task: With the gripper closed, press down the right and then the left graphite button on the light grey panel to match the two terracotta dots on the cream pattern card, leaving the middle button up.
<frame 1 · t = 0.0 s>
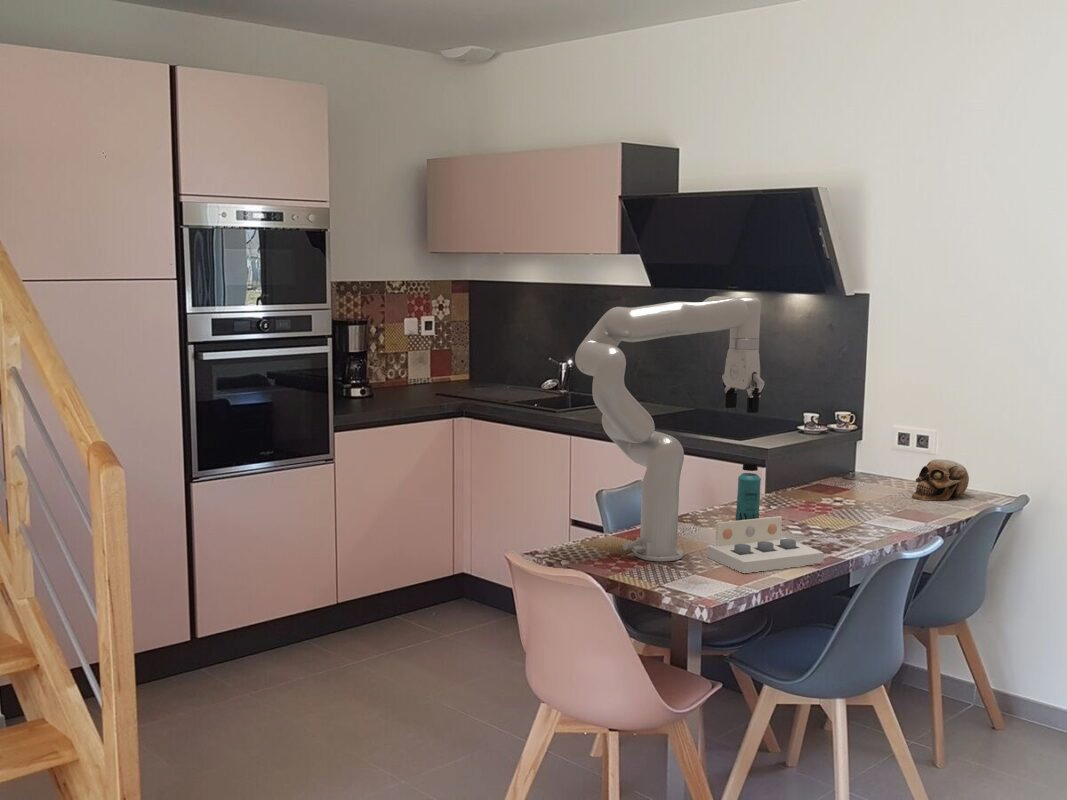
hand: (741, 410, 281), 37 cm above the table, tool pointing down, fingers open, 9 cm apart
button right: (787, 546, 275), point 3 cm above the table, slide at 0.0 cm
button left: (742, 551, 270), point 3 cm above the table, slide at 0.0 cm
beverage bottle: (746, 532, 302), on the table
button panel: (764, 560, 273), on the table
button middle: (765, 549, 272), point 3 cm above the table, slide at 0.0 cm
brown skull: (938, 497, 352), on the table
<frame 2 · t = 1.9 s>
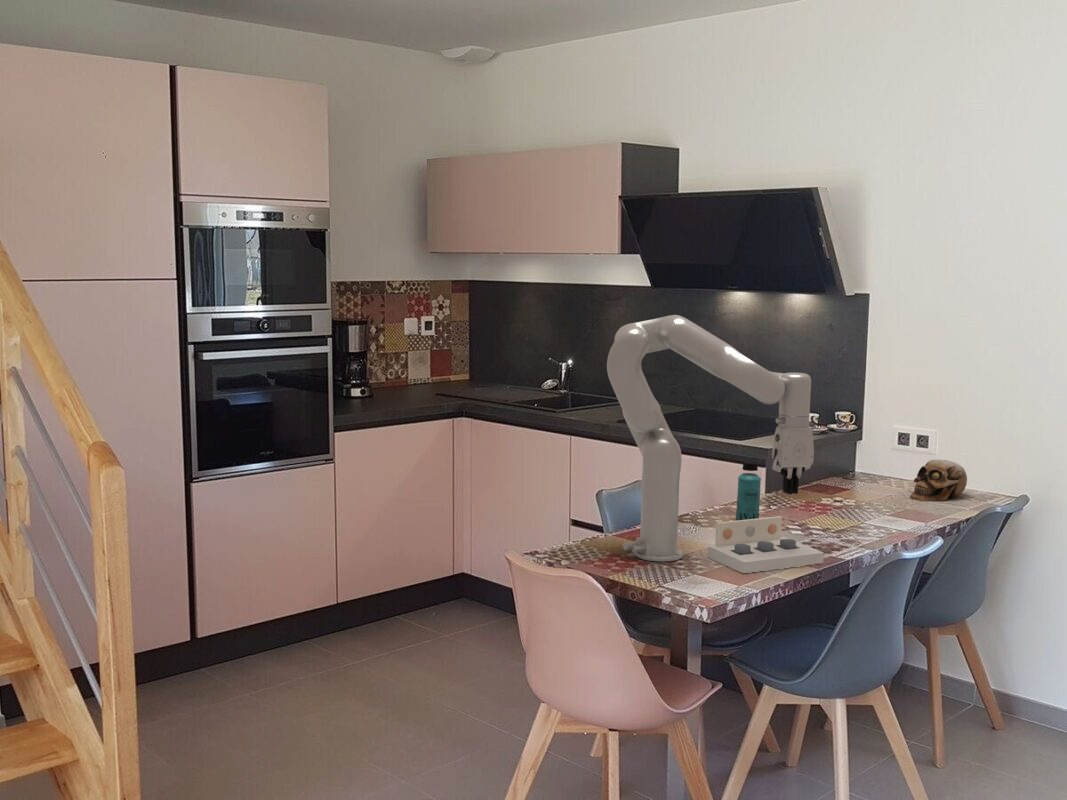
hand: (790, 492, 273), 17 cm above the table, tool pointing down, fingers closed
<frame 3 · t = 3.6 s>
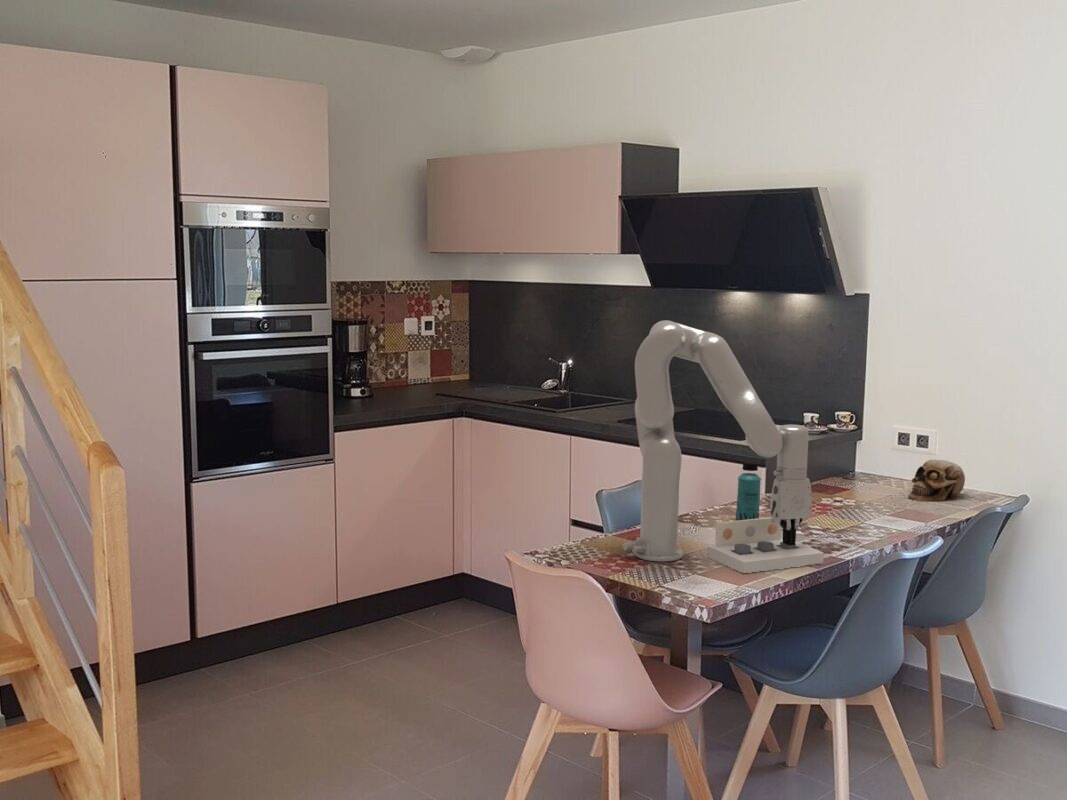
hand: (788, 543, 275), 4 cm above the table, tool pointing down, fingers closed
button right: (787, 549, 275), point 2 cm above the table, slide at 0.8 cm, touching gripper
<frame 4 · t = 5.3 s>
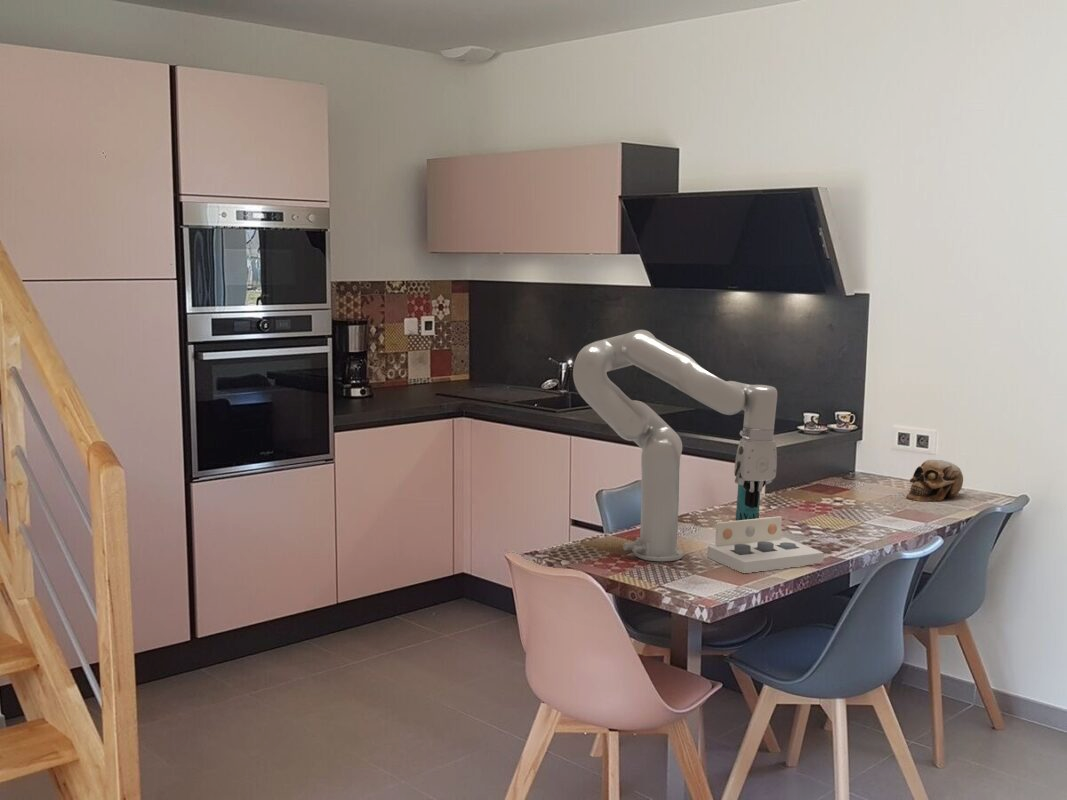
hand: (751, 506, 270), 14 cm above the table, tool pointing down, fingers closed
button right: (787, 550, 275), point 2 cm above the table, slide at 0.9 cm
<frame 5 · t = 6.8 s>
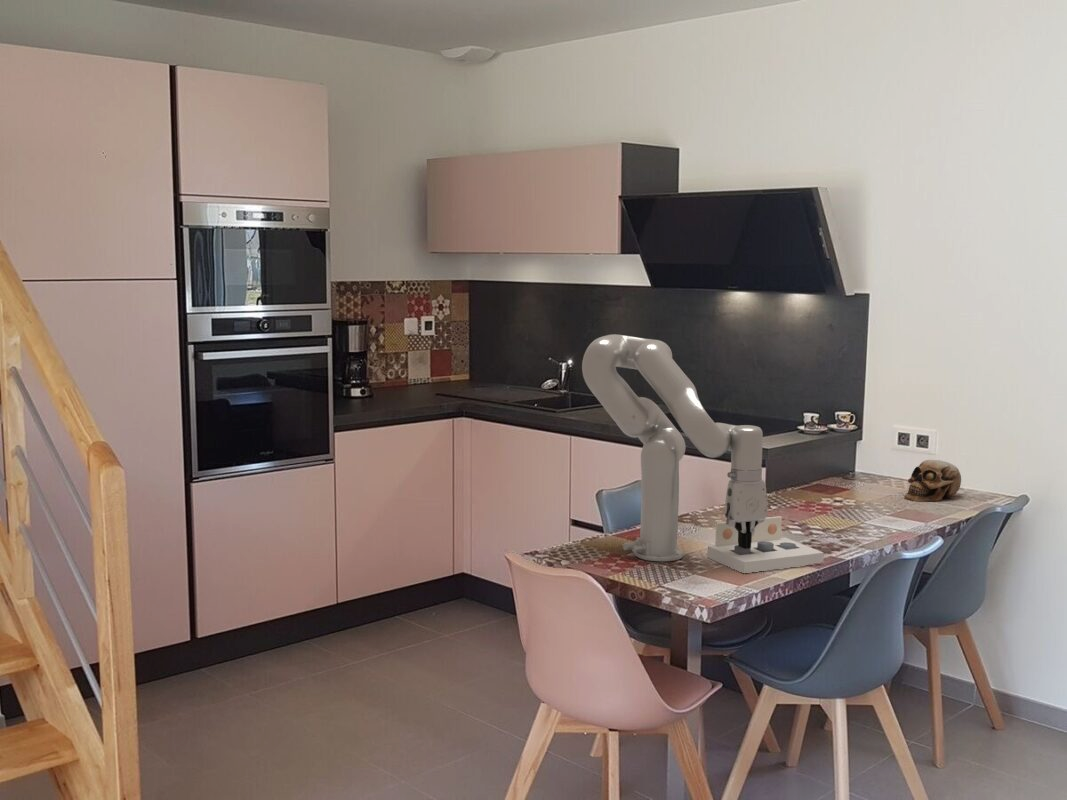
hand: (744, 546, 269), 4 cm above the table, tool pointing down, fingers closed
button left: (742, 552, 270), point 3 cm above the table, slide at 0.2 cm, touching gripper
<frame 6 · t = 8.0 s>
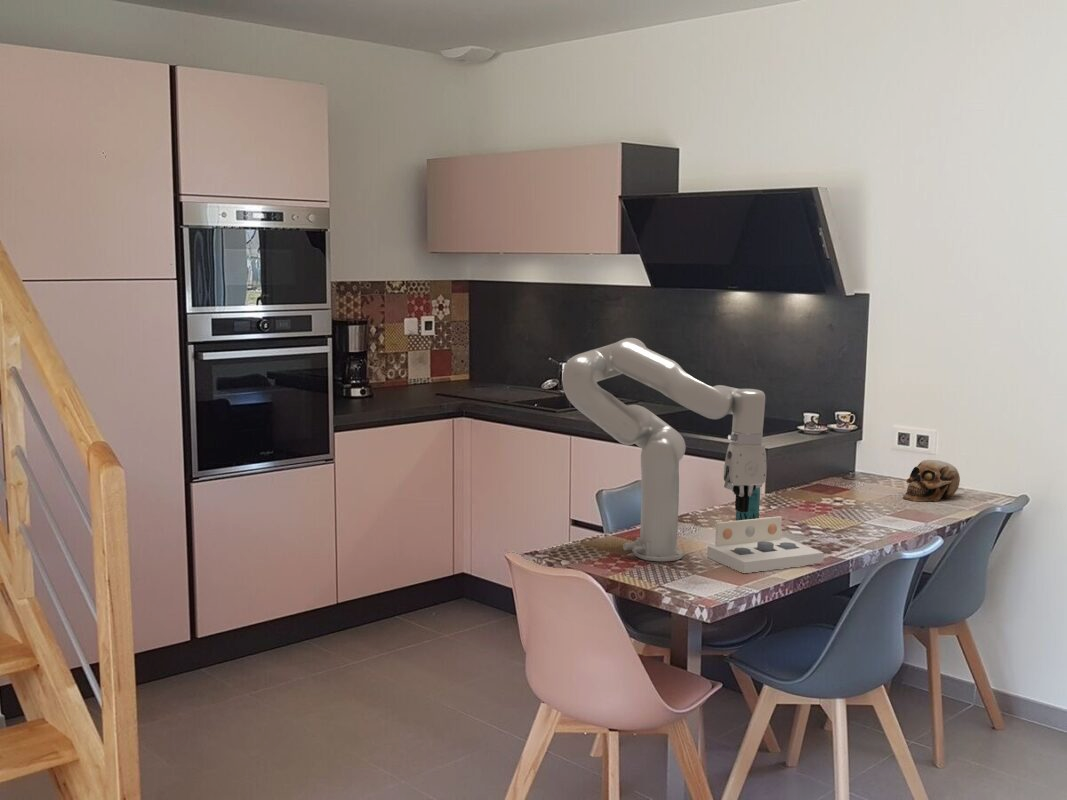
hand: (741, 510, 268), 13 cm above the table, tool pointing down, fingers closed
button left: (742, 555, 270), point 2 cm above the table, slide at 1.0 cm
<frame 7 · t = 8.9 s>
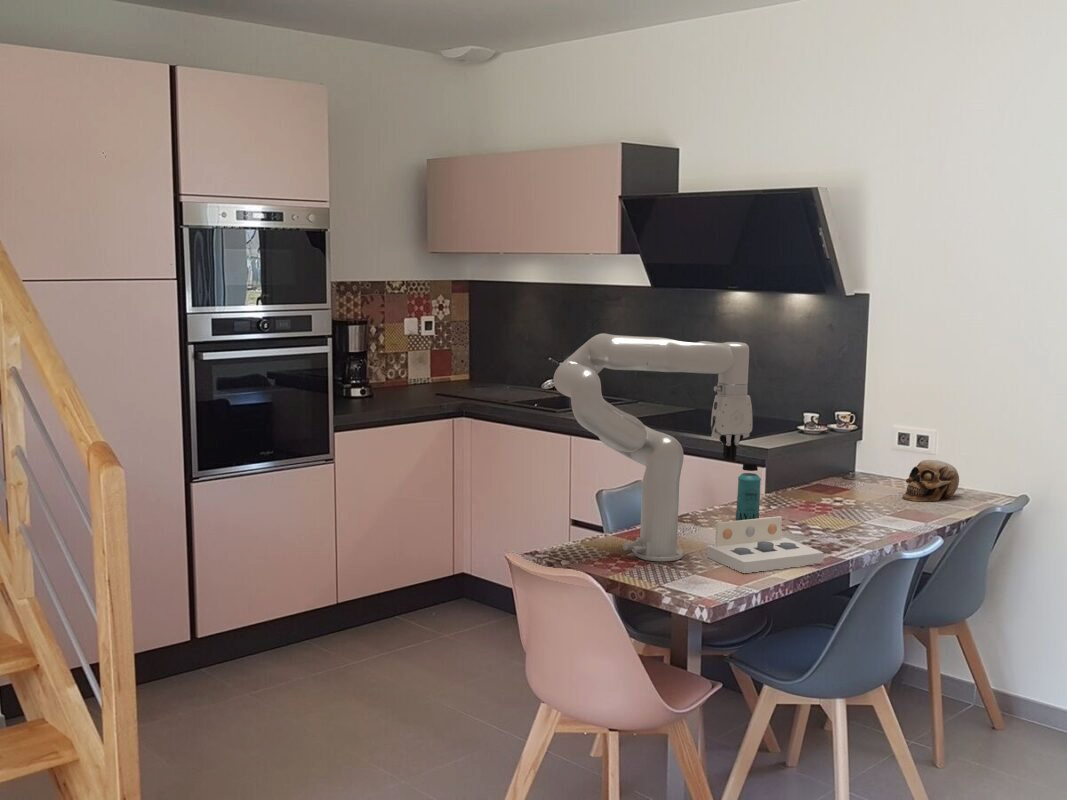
hand: (729, 459, 280), 24 cm above the table, tool pointing down, fingers closed
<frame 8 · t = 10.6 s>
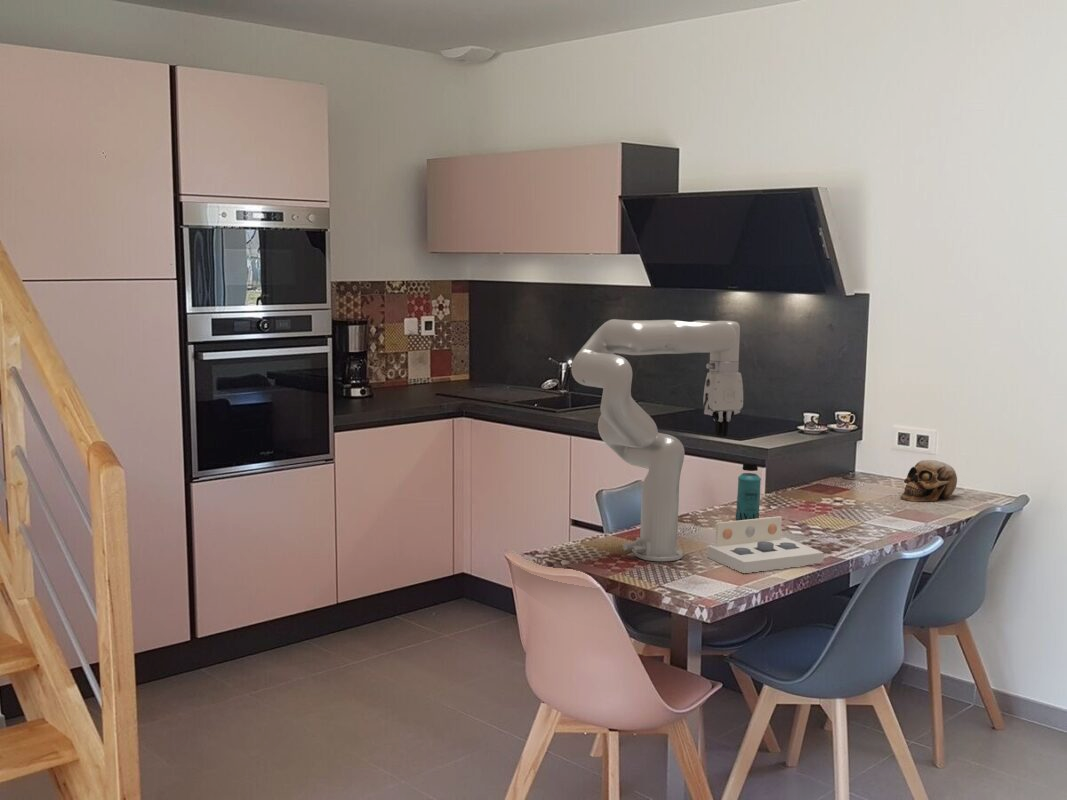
hand: (721, 435, 287), 29 cm above the table, tool pointing down, fingers closed
at the end: button right slide at 0.9 cm; button left slide at 1.0 cm; button middle slide at 0.0 cm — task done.
